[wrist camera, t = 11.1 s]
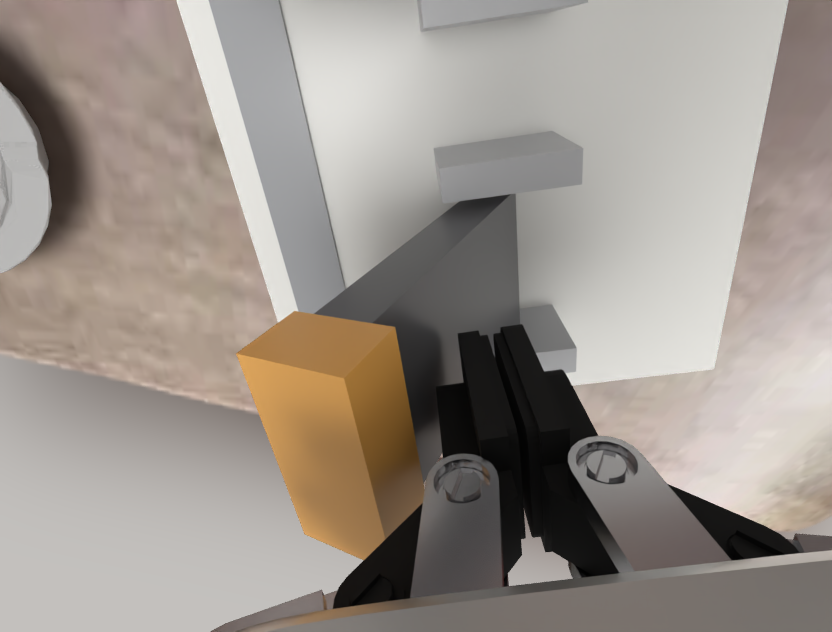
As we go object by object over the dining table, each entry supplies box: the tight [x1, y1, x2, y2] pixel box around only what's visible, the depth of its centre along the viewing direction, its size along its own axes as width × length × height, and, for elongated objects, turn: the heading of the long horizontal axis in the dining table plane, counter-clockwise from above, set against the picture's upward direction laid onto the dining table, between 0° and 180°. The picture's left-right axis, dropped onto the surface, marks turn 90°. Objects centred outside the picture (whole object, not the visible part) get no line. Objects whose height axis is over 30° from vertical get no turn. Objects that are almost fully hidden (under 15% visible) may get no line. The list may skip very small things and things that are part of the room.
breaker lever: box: [236, 194, 520, 560], centre depth 13 cm, size 2×5×11 cm, turn 7°
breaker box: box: [176, 0, 789, 386], centre depth 16 cm, size 18×22×7 cm
